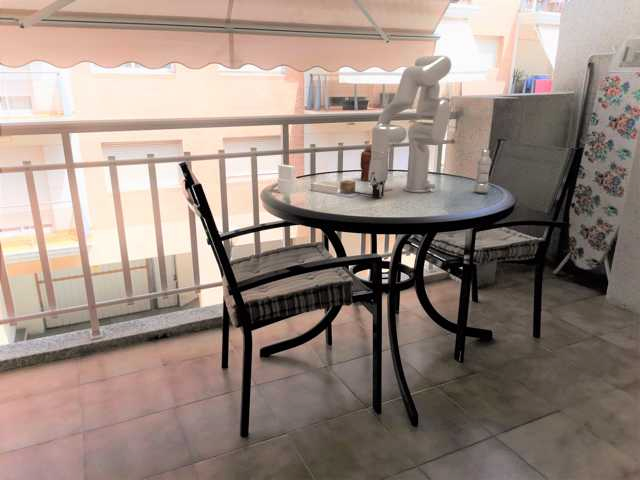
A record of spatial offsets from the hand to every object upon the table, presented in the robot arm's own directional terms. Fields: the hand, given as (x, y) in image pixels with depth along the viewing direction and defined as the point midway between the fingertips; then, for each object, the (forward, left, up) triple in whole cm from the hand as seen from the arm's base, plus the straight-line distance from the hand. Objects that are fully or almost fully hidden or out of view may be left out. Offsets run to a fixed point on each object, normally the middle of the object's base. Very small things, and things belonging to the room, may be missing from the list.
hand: (377, 196), depth 210 cm
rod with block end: (+8, 0, 0) cm, 8 cm away
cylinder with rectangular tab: (+41, +13, -1) cm, 43 cm away
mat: (+14, 0, -1) cm, 14 cm away
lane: (+26, 0, -1) cm, 26 cm away
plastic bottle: (-34, -38, -1) cm, 51 cm away
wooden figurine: (+22, -34, -1) cm, 41 cm away
